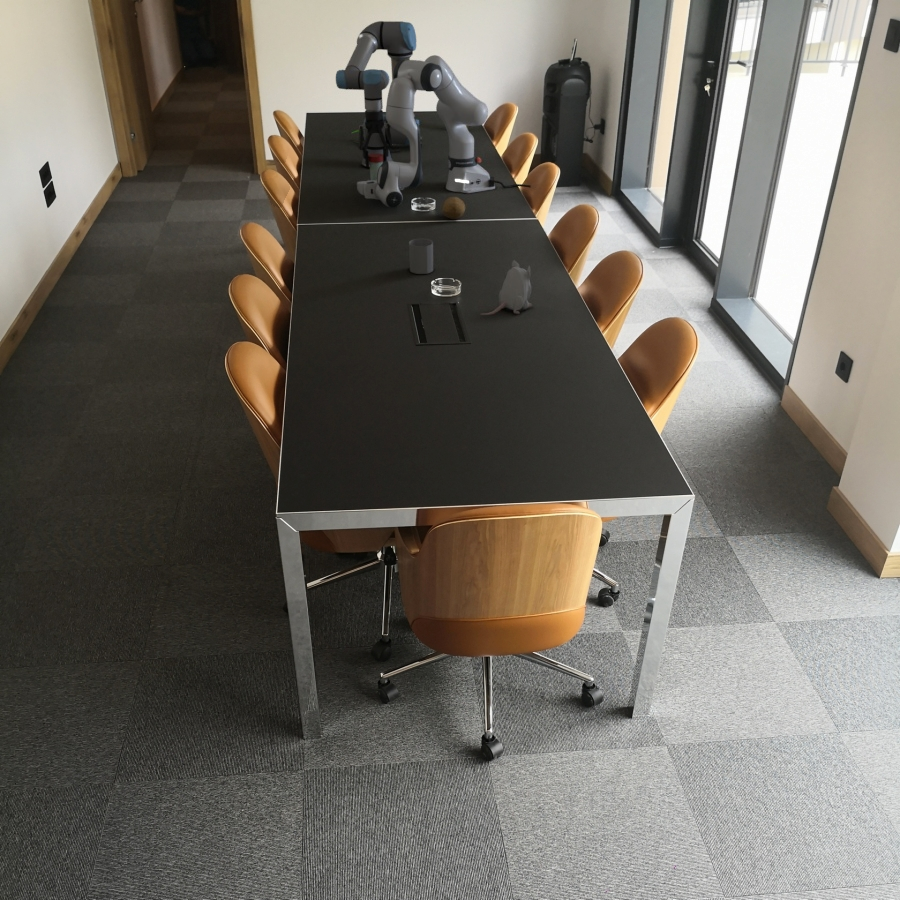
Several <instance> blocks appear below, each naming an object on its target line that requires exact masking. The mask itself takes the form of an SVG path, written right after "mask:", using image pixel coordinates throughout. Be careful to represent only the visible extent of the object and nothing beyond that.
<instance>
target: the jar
mask: <svg viewBox="0 0 900 900" xmlns="http://www.w3.org/2000/svg"><path fill="white" fill-rule="evenodd" d="M382 163H383V162H377V163H374V162H370V168H369V172H370V173H369V176H370V179H369V180H371V181H372V180H377V173H378V169H379V167H380V166H381V164H382Z"/></svg>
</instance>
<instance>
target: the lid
mask: <svg viewBox="0 0 900 900" xmlns="http://www.w3.org/2000/svg"><path fill="white" fill-rule="evenodd" d="M382 161H383V154H379V153H373V154H369V162H374V163H377V162H382Z"/></svg>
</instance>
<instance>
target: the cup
mask: <svg viewBox="0 0 900 900" xmlns="http://www.w3.org/2000/svg"><path fill="white" fill-rule="evenodd" d="M408 253H409V272H411V273H412V274H416V275H426V274H430V273H432V272H434V241H433V240H431V239H428V238H422V237H421V238H420V237H419V238H414V239H411V240H410V241H409V242H408Z"/></svg>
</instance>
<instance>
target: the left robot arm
mask: <svg viewBox="0 0 900 900" xmlns="http://www.w3.org/2000/svg"><path fill="white" fill-rule="evenodd" d="M416 49H417V34H416V29H415V27H414V25H413V24H412V23H411V22H408V21H403V20H402V21H396V20H395V21H391V20H389V21H387V20H385V21H383V20H379V21H374V22H372V23H370V24H369V25H367V26H366V27H365V28H363V29H362V30H361V32H360V33H359V34H358V35H357V38H356V46H355V48H354V50H353V52H352V54H351V56H350V59H349V60H348V63H347V65H346V66H345V69H338V70H337V71H336V73H335V84H336V87H337V88H338V89H340V90H354V91H355V90H356V91H357V90H358V91H363V99H364V119H363V124H358V126H357V127H358V130H359V132H358V142H357V143H358V144H357V148H358V150H359V151H362V159H361V166H362V167H363V168H366V169H370V162H369V154H373V153H379V154H383V161H382V162H385V161H394V160H393V158H392V155H391V153H400V152H401V149H395V150H394V149H393V150H390V149H391V148H393V145H403V146H404V145H405V146H410V142H409V139H408V138H407V137H406V136H405V135H404V134H402V133H400V132H399V131H397V130H395V129H394V128H392V127H391V126H390V125H389V123H388V122H387V119H386V113H384V111H383V109H384V108H383V107H384V106H383V104H384V103H383V90H385V89H387V87H388V86H389V84H390V75H389V74H388V72H387V71H386V70H383V69H375V68H374V69H373V68H372V69H367V66H368V63H369V61H370V60H371V57H372V55H373V54H374V53H376V51H379V50H383V51H387V53H386V55H387V56H388V57H389V58H390V64H391V82H392V81H393V80H394V77H393V73H394V68H395V66H396V64H397V63H398V62H399V61H400V60H404V59H409V60H411V57H412V56H413V55H414V52H415V51H416ZM413 115H414V119H415V122H416V123H418V125H419V126H420V120H419V119H417V118H416V114H415V113H414V112H413ZM363 130H364V131H363ZM363 135H364V141H363ZM363 143H364V144H363Z"/></svg>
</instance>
